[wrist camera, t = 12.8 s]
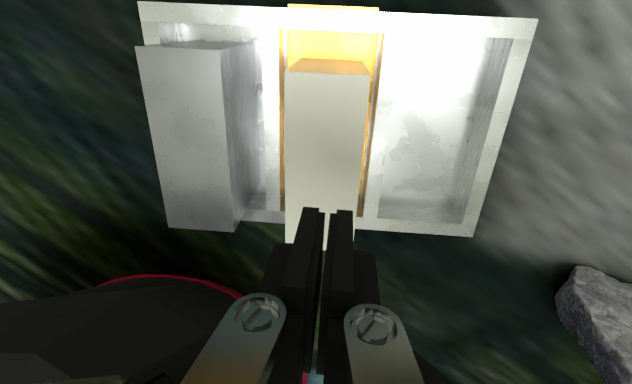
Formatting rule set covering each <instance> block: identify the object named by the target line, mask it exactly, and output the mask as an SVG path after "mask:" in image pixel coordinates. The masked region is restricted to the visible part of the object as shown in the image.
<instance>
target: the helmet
mask: <svg viewBox="0 0 632 384" xmlns="http://www.w3.org/2000/svg"><path fill="white" fill-rule="evenodd" d="M241 297H243V295H242V294H240V293H238V292H237V291H235V290H232V289H229V288H227V287H224V286H221V285H219V284H216V283H214V282H211V281H208V280H202V279H196V278H189V277H183V276H175V275H133V276H128V277H123V278H118V279H113V280H110V281H108V282H105V283H103V284H101V285H98V286H96V287H93V288H89V289H85V290H82V291H78V292H74V293H70V294H67V295H63V296H56V297H48V298H40V299H33V300H25V301H18V302H10V303H2V304H0V384H34V383H44V382H54V381H63V380H73V379H83V378H92V377H102V376H112V375H120V376H121V380H122V379H128V378H129V377H130V376H131V375H133V374H134V373H136V372H137V371H139V370H140V369H142V368H144V367H146V366H148V365H150V364H152V363H153V362H155V361H157V360H159V359H161V358H163V357H165V356H167V355H169V354H171V353H173V352H175V351H177V350H179V349H180V348H182V347H184V346H186V345H188V344H190V343H192V342H194V341H196V340H198V339H200V338H202V337H204V336H206V335H207V334H209V333H211V332H213V331H215V329H216V328H217V326H218V325H219V323H220V322H221V320H222V319H223V317H224V316H225V314H226V313H227V311H228V310H229V308H230V307H231V306H232V304H233V303H234V302H235V301H237V300H238V299H240V298H241ZM301 384H306V373H304V372H303V376H302V383H301Z"/></svg>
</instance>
